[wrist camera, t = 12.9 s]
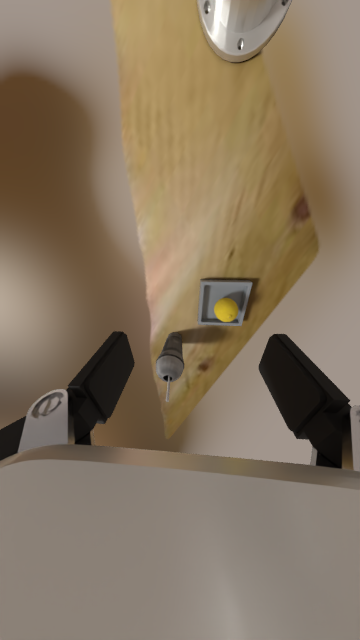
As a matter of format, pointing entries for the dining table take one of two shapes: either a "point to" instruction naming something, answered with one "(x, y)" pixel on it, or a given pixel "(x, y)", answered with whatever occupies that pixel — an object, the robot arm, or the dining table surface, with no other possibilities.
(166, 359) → the beverage cup
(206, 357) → the dining table surface
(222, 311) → the lemon
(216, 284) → the tray
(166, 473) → the robot arm
